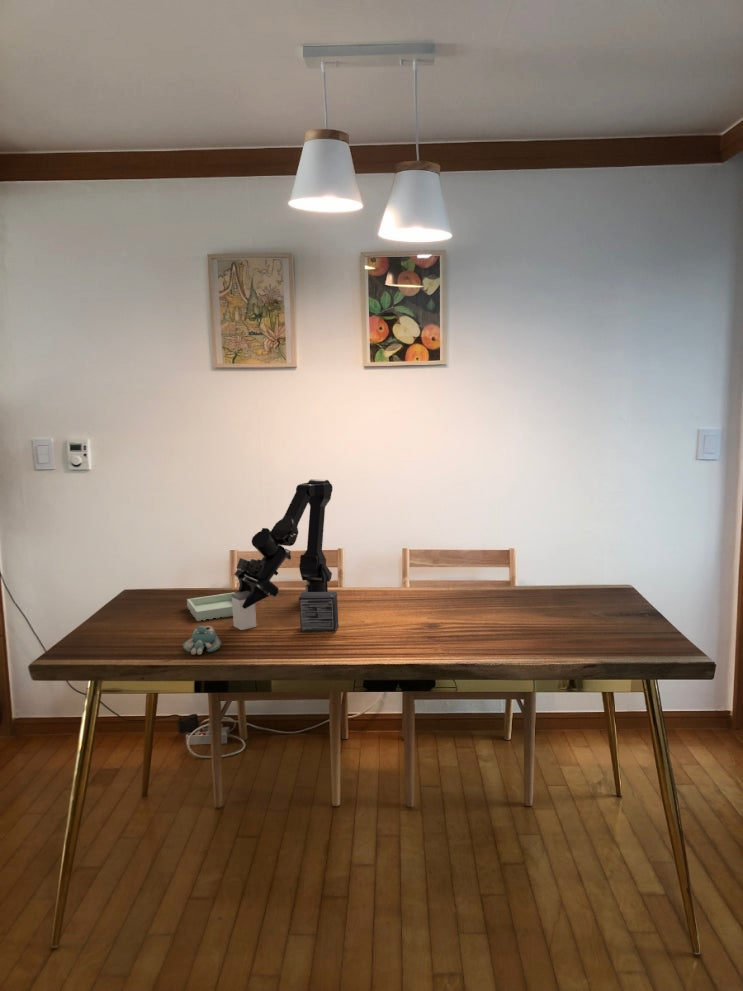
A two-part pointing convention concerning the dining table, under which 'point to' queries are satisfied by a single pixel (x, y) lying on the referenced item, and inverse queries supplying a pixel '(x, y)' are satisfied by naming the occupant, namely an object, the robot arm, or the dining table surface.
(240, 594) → the grey upright pillar
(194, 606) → the tray
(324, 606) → the small box
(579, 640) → the dining table surface
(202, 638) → the stuffed animal
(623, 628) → the dining table surface
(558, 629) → the dining table surface
